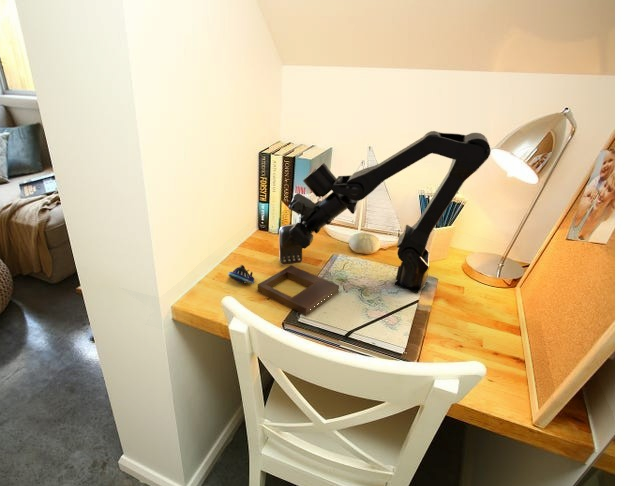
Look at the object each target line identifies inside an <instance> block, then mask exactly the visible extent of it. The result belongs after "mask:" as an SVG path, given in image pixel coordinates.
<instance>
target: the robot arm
mask: <svg viewBox="0 0 640 486" xmlns="http://www.w3.org/2000/svg"><path fill="white" fill-rule="evenodd" d="M431 154H433V155H439V156H441V157H444V158H448V159H450V160H451V162H450V167H449V168H448V171H447V173H446V175H445V177H444V178H443V179H442V181H441V183H440V184H439V186H438V187H437V190H436V191H435V193H434V194H433V196H432V197H431V198H430V200H429V202H428V204H427V206H426V207H425V209H424V210H423V212H422V214H421V215H420V216H419V218H418V220H417V222H415V223H414V224H413V225H412V226H410V225H409V224H406V225H405V227H404V229H403V232H402V233H401V234H400V235H399V236H398V239H397V245H396V248H397V257H398V259H399V260H400V261H401V263H400V265H399V266H398V267H397V272H396V277H395V280H396V281H394V283H393V285H394V286H395V287H397V288H401V289H404V290H407V291H410V292H412V293H414V294H419V293H420V292H421V291H422V290H423V289H424V288H425V287H427V285H428V283H429V282H428V281H427V279H428V275H429V271H430V251H429V249H427V245H428V242H429V238H430V236H431V233H432V231H433V230H434V229H435V227H436V226H437V225H438V222H439V221H440V220H441V218H442V216H443V215H444V214H445V212H446V210H447V209H448V207H449V206H450V205H451V203H452V201H453V200H454V198H455V197H456V196H457V194H458V193H459V190H460V189H461V187H462V186H463V184H464V183H466V181H467V180H468V179H469V178H470V177H472V176H473V175H474V174H475V173H476V172H477V171H479V169H480V168H481V167H482V166H483V165H484V164H485V162H487V160H488V159H489V158H490V155H491V146H490V143H489V141H488V138H487V137H486V136H485V135H484V134H482V133H481V132H470V133H468V134H461V133H453V132H452V133H450V132H440V131H436V130H431V131H428V132H427V133H425V134H424V135H423V136H422V137H420V138H419V139H418V140H416V141H414V142H412V143H410V144H409V145H407V146H406V147H404V148H402V149H401V150H399V151H397V152H396V153H394V154H392V155H391V156H389V157H388V158H386V159H384V160H383V161H381V162H380V163H377V164H375V165H371V166H369V167H365V168H362V169H361V170H358V171H355V172H353V173H352V174H351V175H338V176H337V177H336V176H335V175H334V174H333V173H332V171H331V170H330V169H329V167H328V166H327V164H326V163H325V162H322V163H321V164H320V165H319V166H318V167H317V168H314V169H313V170H312V171H311V172H309V174H308V175H306V176H305V177H304V179H302V182H303V183H304V184H305V185H306V187H307V188H308V189H309V190H310V191H311V193H312V194H313V195H314V196H315V197H318V198H324V199H322V200H317V201H316V202H315V201H313V200H311V199H309V198H308V197H306V196H305V195H303V194H301V193H298V192H297V193H296V194H294V196H293V197H292V199H291V201H290V202H289V205H288V210H290V211H292V212H294V213H296V214H298V215H300V221H299V222H296V223H294V224H295V225H293V227H292V228H291V229H290V231H289V233H290V237H289V238H288V239H287V240H286V241H285V243H284V244H283V246H284V247H285V248H286V247H292V246H299V245H300V246H301V247H302V249H304V250H305V249H307V248H308V247H309V246H310V245H311V244H312V242H313V241H314V234H313V233H312V232H314V233H315V235H317V234H318V233H319V232H320V231H321V229H323V228H324V227H325V226H326V225H327V226H328V225H330V224H331V223H332V221H333V220H334V219H335V218H337V217H338V216H339V215H341V214H342V213H344V212H345V211H346V210H348V211H349V212H350V214H352V215H354V214H355V213H356V210H357V209H358V207H357V205H358V202H360V201H363V200H364V199H366V197H367V196H369V195H370V194H371V193H373V192H374V191H375V189H377V188H378V187H379V186H380V185H381V184H382V183H383V182H385V181H387V180H388V179H390V178H391V177H393V176H395V175H397V174H398V173H400V172H402V171H404V170H405V169H407V168H408V167H411V166H412V165H415V164H416V163H417V162H419V161H420V160H423V159H424V158H426V157H428V156H429V155H431ZM331 191H332V192H331ZM330 192H331V193H330ZM329 193H330V194H329ZM325 196H326V197H325Z"/></svg>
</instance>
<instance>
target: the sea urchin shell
mask: <svg viewBox="0 0 640 486" xmlns="http://www.w3.org/2000/svg"><path fill="white" fill-rule="evenodd" d="M348 245H349V247H350V249H351V250H352V251H353V252H354V253H357V254H365V255H370V254H374V253H377V252H378V251H379V249H380V247H381V240H380V238H379V237H378V236H376V235H375V234H372V233H369V232H357V233H354V234H353V235H352V236H350V238H349V239H348Z"/></svg>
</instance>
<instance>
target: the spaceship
mask: <svg viewBox="0 0 640 486" xmlns="http://www.w3.org/2000/svg"><path fill="white" fill-rule="evenodd" d="M249 272H250V273H249ZM227 274H228V276H229V277H230V278H231V279H232V280H233V281H236V282H237V283H239V284H243V285H244V284H245V283H247V284H250V283H253V284H254V283H255V277H254V276H253V272H252V271H250V269H246V267H245V265H243V264H240V266H238V267H235V268H234V270H233V271H229V272H228V273H227ZM248 282H249V283H248Z"/></svg>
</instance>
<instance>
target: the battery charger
mask: <svg viewBox="0 0 640 486" xmlns="http://www.w3.org/2000/svg"><path fill="white" fill-rule="evenodd" d="M295 224H296V223H294V224H292V223H291V224H285V225H282V226H281V227H279V230H278V251H279V253H278V254H279V256H278V257H279V258H278V261H279V262H280V263H281V264H282V265H292V264H300V263H302V262H303V248H302V247H301V246H300V245H299V246H292V247H286V248H285V247H284V246H283V244H284V243H285V241H286V240H287V239H288V238H289V237H290V233H289V231H290V229H291V228H292V227H293V225H295Z"/></svg>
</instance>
